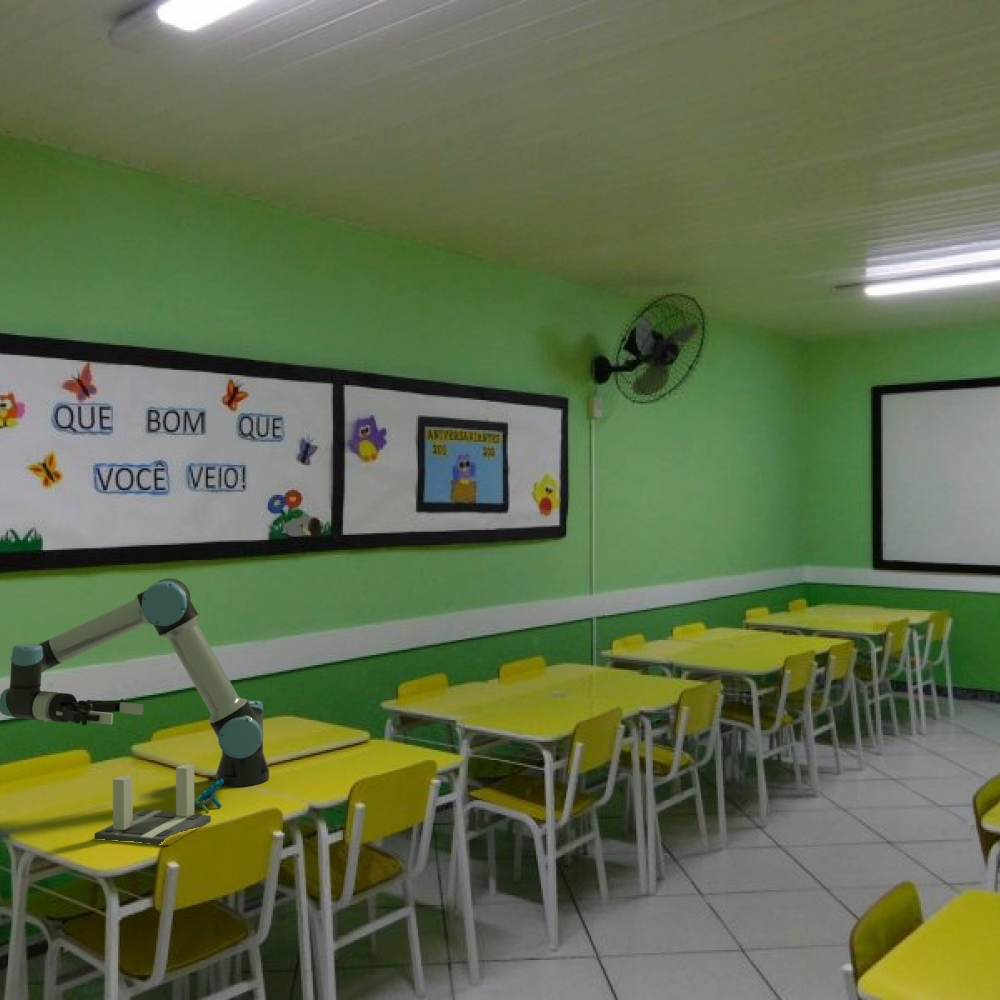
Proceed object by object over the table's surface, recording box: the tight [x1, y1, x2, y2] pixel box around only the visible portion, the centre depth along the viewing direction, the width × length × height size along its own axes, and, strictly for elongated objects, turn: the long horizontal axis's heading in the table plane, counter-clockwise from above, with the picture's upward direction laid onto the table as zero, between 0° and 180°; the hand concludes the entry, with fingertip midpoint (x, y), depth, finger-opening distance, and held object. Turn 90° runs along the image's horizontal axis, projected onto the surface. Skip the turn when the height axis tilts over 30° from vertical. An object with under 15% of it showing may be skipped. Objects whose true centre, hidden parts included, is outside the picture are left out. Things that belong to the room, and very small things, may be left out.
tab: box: [112, 775, 134, 830], centre depth 242 cm, size 3×4×12 cm
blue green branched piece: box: [194, 779, 224, 814], centre depth 265 cm, size 11×6×10 cm
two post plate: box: [93, 764, 212, 846], centre depth 247 cm, size 20×19×14 cm
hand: (127, 714), depth 260 cm, fingers open, 13 cm apart
